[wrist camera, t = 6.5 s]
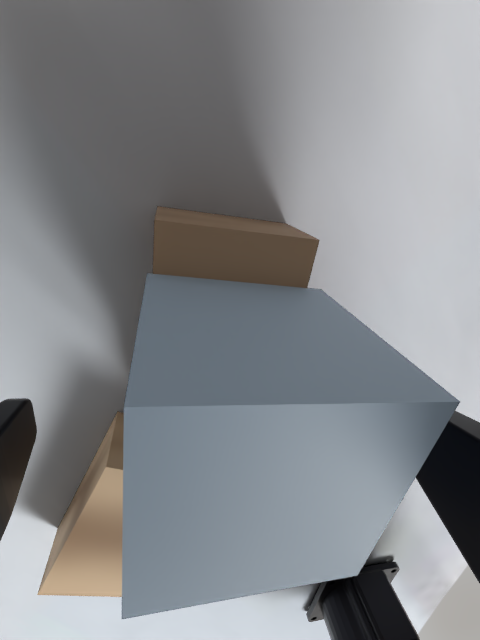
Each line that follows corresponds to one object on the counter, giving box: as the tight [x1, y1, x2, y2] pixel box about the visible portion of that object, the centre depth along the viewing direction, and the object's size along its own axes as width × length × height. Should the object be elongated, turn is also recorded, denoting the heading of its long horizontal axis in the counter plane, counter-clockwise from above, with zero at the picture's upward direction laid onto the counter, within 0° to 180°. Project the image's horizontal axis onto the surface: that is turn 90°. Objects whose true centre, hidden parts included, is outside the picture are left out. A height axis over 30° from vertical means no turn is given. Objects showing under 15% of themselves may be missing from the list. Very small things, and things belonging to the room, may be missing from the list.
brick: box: [38, 412, 124, 597], centre depth 14 cm, size 8×4×3 cm, turn 149°
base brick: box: [153, 206, 319, 288], centre depth 11 cm, size 8×4×3 cm, turn 171°
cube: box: [122, 273, 460, 619], centre depth 7 cm, size 5×5×5 cm
